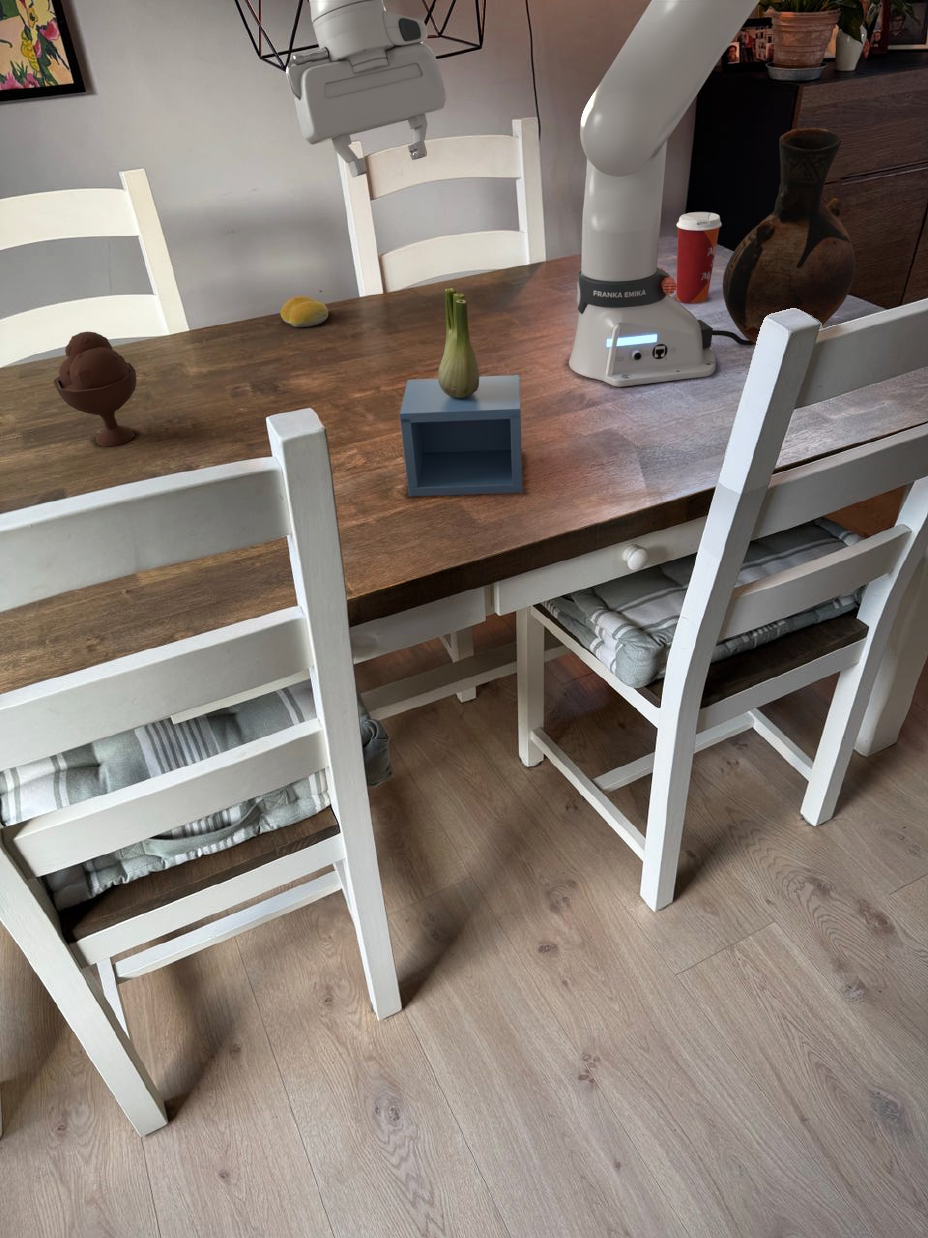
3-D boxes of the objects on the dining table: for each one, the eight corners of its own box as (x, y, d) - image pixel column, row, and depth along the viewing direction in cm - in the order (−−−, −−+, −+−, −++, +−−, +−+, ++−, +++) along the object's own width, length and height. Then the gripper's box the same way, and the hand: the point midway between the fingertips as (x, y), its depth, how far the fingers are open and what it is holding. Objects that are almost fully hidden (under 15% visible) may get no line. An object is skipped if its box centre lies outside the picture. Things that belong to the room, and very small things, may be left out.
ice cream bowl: (62, 442, 124) (23, 340, 115) (131, 415, 131) (99, 316, 121) (98, 462, 118) (60, 357, 109) (168, 433, 125) (137, 331, 115)
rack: (521, 455, 113) (519, 374, 106) (522, 493, 105) (520, 408, 98) (416, 458, 114) (407, 379, 107) (409, 496, 106) (399, 413, 99)
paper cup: (717, 303, 154) (727, 220, 146) (674, 306, 155) (681, 223, 146) (708, 290, 160) (717, 209, 152) (666, 292, 161) (673, 212, 152)
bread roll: (301, 331, 156) (297, 309, 154) (276, 320, 162) (271, 299, 159) (338, 319, 160) (335, 297, 158) (312, 309, 166) (309, 288, 163)
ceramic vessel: (790, 312, 148) (824, 114, 130) (868, 342, 136) (918, 127, 117) (691, 337, 142) (712, 132, 123) (763, 371, 129) (799, 148, 111)
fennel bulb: (476, 403, 100) (470, 299, 92) (435, 403, 100) (426, 299, 93) (483, 384, 104) (478, 282, 97) (443, 383, 105) (436, 283, 98)
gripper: (292, 48, 96) (333, 181, 102) (435, 19, 105) (465, 143, 111) (270, 64, 101) (310, 190, 107) (408, 35, 110) (438, 153, 116)
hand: (390, 166), depth 109 cm, fingers open, 8 cm apart
